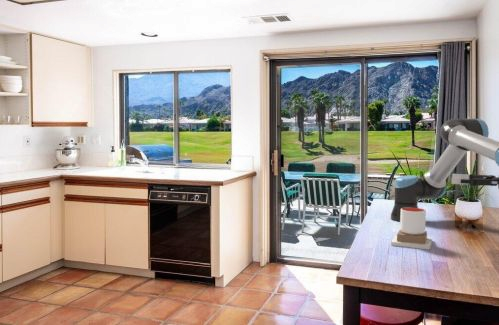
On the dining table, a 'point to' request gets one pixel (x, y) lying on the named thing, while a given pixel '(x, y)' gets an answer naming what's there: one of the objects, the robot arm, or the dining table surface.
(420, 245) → the plinth
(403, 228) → the cup
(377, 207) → the dining table surface
